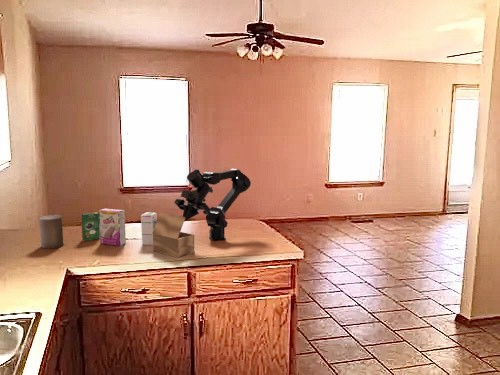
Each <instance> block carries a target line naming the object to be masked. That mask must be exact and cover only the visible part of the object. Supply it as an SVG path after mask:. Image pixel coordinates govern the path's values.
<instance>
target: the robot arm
mask: <svg viewBox="0 0 500 375" xmlns="http://www.w3.org/2000/svg"><path fill="white" fill-rule="evenodd" d="M229 179H230V181H231V184H232V185H231V188H230V190H229V191H228V192H227V194H226V195H225V196H224V198H223V199H222V200H221V202H219V203H218V205H217V207H215V206H212V207H209V205H208V204H207V203H206V197H207V195H208V194H209V193H211V194H213V192H214V189H213V186H215V185H217V184H220V183H221V181H223V180H229ZM186 180H187V181H188V182H189V183H190V184H191V186H192V187H193V188H194V189H195V190H194V189H192V190H187V189H186V190H185V189H182V191H181V194H180V197H181V198H176V199H175V201H174V202H173V203H174V204H175V206H177V207H178V209H179V210H181V211H183V212H182V217H186V218H185V221H184V223H185V222H187V221H188V220H189V219H191V218H193V217H195V216H197V215H199V214H200V213H199V212H200V211H202V213H203V214H204V215H205V220H206V224H207V227H209V228H210V229H209V232H208V233H209V234H208V235H209V236H208V238H209V239H210V240H212V241H224V240H227V238H226V237H225V229H226V228H227V227H228V224H229V223H228V221H227V219H226V213H227V211H228V210H229V209H230V208H231V206H232V205H233V204H234V202H235V201H236V200H237V198H238V197H239V196H240V194H242V193H245V192H246V191H248V189H249V188H250V187H251V184H252V183H251V179H250V178H249V177H248V176H247V175H246V174H244V173H243V172H241V170H240V169H238V168H231V169H226V170H225V169H224V170H221V171H217V172H215V171H204V172H203V173H201V171H200V170H199V169H194V170H193V171H191V172H189V173H188V174H187V176H186ZM210 185H213V186H210ZM184 198H185V200H184Z"/></svg>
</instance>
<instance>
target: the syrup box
mask: <svg viewBox="0 0 500 375" xmlns="http://www.w3.org/2000/svg"><path fill="white" fill-rule="evenodd" d="M157 220H158V215H157V212H152V211H148V212H145V213H142V214H141V215H140V222H141V244H142V245H145V246H153V233H152V232H153V230H154V227H155V225H156V222H157Z"/></svg>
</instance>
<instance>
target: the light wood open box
mask: <svg viewBox="0 0 500 375" xmlns="http://www.w3.org/2000/svg"><path fill="white" fill-rule="evenodd" d="M152 249H153V252H156V253H160V254H164V255H167V256H171V257H175V258H181V257H185V256H187V255H190V254H191V255H192V254H195V250H196V249H195V234H193V233H189V232H188V233H187V232H183V231H180V234H179V236H178V239H174V238H170V237H165V236H161V235H157V234H153V245H152Z"/></svg>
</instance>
